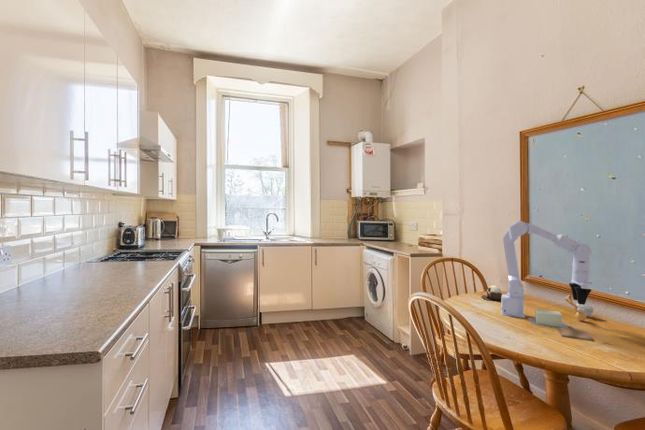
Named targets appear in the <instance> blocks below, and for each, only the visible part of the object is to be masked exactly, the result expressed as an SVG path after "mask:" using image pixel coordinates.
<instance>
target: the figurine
mask: <svg viewBox="0 0 645 430" xmlns="http://www.w3.org/2000/svg"><path fill="white" fill-rule="evenodd" d="M564 300H565V302H567V303H568V304H569V305H571V306H572V307H573V309H574V311H575V312H576V313H575V319H577V320H578V321H579V322H580V321H581V322H582V321H585V320H586V319H587V317H586V314H585V313H584V312H580V311H578V310H577V308H578V306H577V305H576V303H574V302H573V295H571V294H568V295H567V296H565V297H564Z"/></svg>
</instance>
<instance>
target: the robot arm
mask: <svg viewBox="0 0 645 430" xmlns="http://www.w3.org/2000/svg"><path fill="white" fill-rule="evenodd" d="M526 233H527V234H528V235H531V234H532V235H538V236H540V237H541V238H545V239H546V240H549V241H551V242H552V243H553V244H554V246H555V247H557V248H560V249H562V250H564V251H566V252H568V253H573V259H572V270H571V271H572V272H571V274H572V275H571V283H570V282H569V283H568V286H569V288H570V290H571V294H572V295H571V296H572V300H574V301H577V303H578V304H582V305H585V302H586V303H587V299H588V296H589V294H590V293H591V292H592V289H591V288H588V286H589V285H592V282H591V281H589V277H590V275H589V273H590V256H591V254H592V250H591V247H590V245H589V246H588V244H585V243H583V242H581V240H578V239H577V240H576V239H573V238H571V237H570V236H569V235H567V234H563V233H561V234H558V235H557V234H555V233H552V232H551V231H548V230H546V229H544V228H541V227H540V226H538V225H535V224H531V223H529V222H524V221H522V220H517V221H514V222H513V223H512V224H510V225H509V226H508V229H507V230H506V232H505V234H504V236H503V238H502V241H503V249H504V255H505V261H506V262H505V263H506V268H507V277H508V284H507V293H506V294H502V297H501V301H500V302H501V303H500V312H501V315H502V316H506V317H507V316H508V317H515V318H516V317H517V318H522V319H525V318H526V316H525V313H524V311H525V310H524V309H525V307H524V306H525V295H523V294H524V285H523V283H522V282H521V280H520V274H519V272H520V271H519V267H518V260H517V255H516V247H515V242H516V240H518V239H519V237H521V236H524V235H525V234H526Z"/></svg>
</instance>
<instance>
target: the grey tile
mask: <svg viewBox="0 0 645 430" xmlns="http://www.w3.org/2000/svg"><path fill="white" fill-rule="evenodd" d="M527 319H528V322H529V324H530V325H532V326H533V325H535V326H541V327H542V326H543V327H547V328H553V329H556V327H557V326H550V325H543V324H537V323H536V321H535V318H532V317H527ZM559 328H567V329H570V328H569V326H568V325H567V324H566V322H562V327H559Z"/></svg>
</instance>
